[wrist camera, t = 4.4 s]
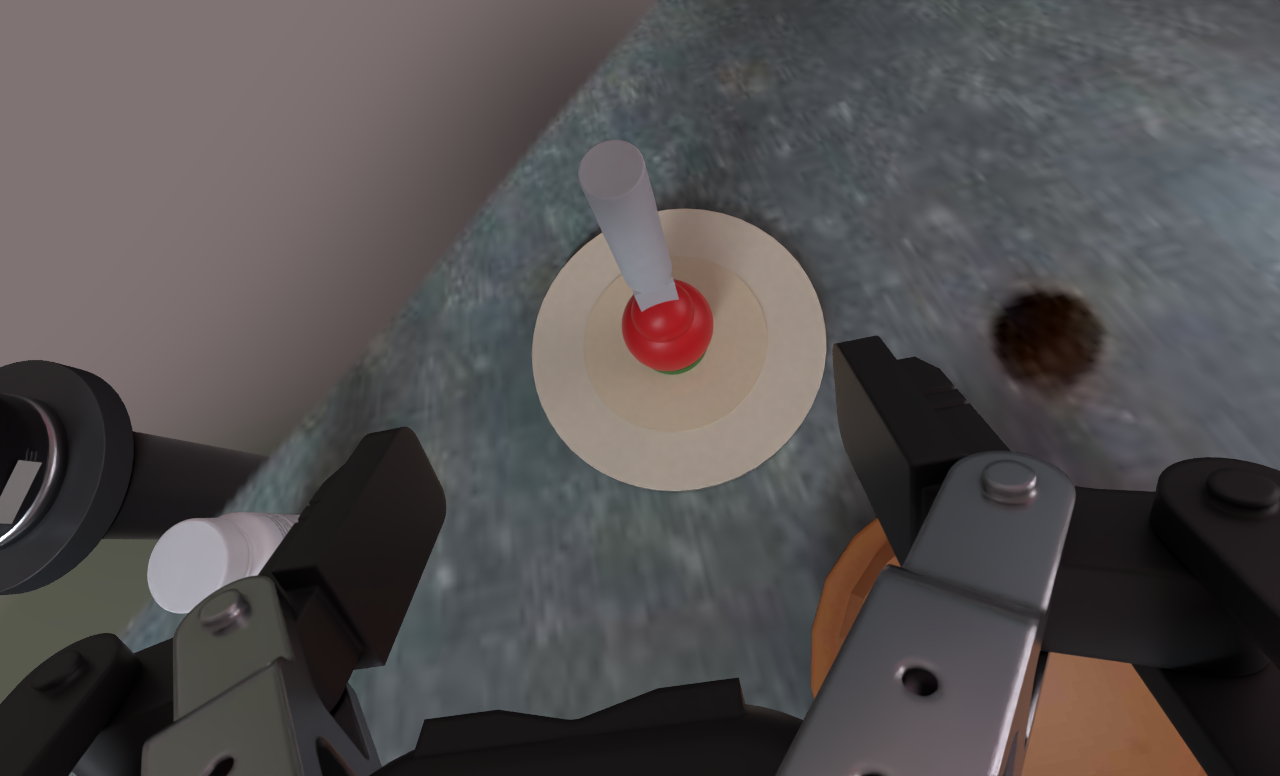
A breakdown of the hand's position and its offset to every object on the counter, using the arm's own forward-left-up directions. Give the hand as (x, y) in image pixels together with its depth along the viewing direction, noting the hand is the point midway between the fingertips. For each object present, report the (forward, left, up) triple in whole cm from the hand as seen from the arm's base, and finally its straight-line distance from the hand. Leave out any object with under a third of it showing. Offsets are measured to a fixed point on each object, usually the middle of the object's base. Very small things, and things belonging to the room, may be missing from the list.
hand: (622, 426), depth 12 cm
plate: (-3, +8, -21) cm, 23 cm away
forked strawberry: (-3, +8, -20) cm, 22 cm away
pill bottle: (-20, -8, -21) cm, 31 cm away
